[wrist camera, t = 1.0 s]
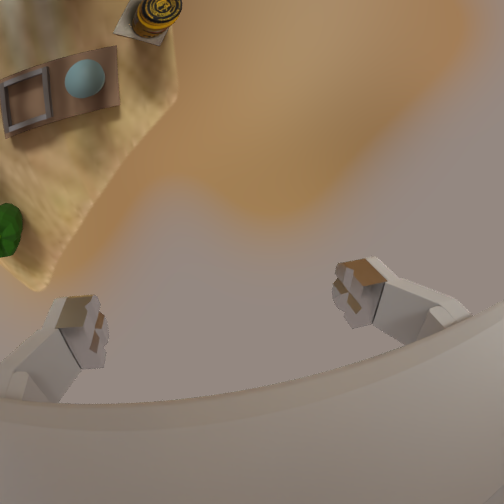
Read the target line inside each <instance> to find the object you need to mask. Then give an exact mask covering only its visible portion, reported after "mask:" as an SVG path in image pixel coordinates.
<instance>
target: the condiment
mask: <svg viewBox="0 0 504 504" xmlns="http://www.w3.org/2000/svg"><path fill="white" fill-rule="evenodd" d="M181 10H182V1H181V0H130V1H129V3H128V5H127V7H126V9H125V10H124V12H123V14H122V16H121V18H120V20H119V22H118V24H117V26H116V28H115V30H114V32H113V33H115V34H119V35H123V36H127V37H130V38H134V39H137V40H141V41H144V42H148V43H151V44H154V45H157V46H160V45H161V43H162V41H163V39H164V37H165V35H166V33H167V31H168V29H169V27H170V26H171V25H172V24H173V23H174V22H175V21H176V20H177V18H178V17H179V15H180V12H181ZM129 24H130V25H129ZM130 26H131V27H130Z"/></svg>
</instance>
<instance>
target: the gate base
mask: <svg viewBox="0 0 504 504" xmlns="http://www.w3.org/2000/svg"><path fill="white" fill-rule="evenodd" d="M0 105H1V113H2V121H3V127H4V133H5V139H7V138H9V137H12V136H14V135H17V134H19V133H22V132H25V131H28V130H30V129H33V128H36V127H39V126H42V125H45V124H48V123H51V122H55V121H58V120H61V119H65V118H68V117H72V116H75V115H79V114H83V113H87V112H91V111H95V110H99V109H104V108H108V107H113V106H117V105H120V98H119V85H118V69H117V45H116V46H111V47H106V48H101V49H96V50H91V51H87V52H83V53H79V54H75V55H71V56H67V57H63V58H60V59H56V60H53V61H50V62H47V63H44V64H40V65H37V66H35V67H32V68H29V69H26V70H23V71H21V72H18V73H15V74H13V75H10V76H8V77H6V78H3V79H1V80H0Z"/></svg>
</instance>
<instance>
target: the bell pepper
mask: <svg viewBox="0 0 504 504" xmlns="http://www.w3.org/2000/svg"><path fill="white" fill-rule="evenodd" d="M22 227H23V224H22V215H21V213H20V210H19V208H17V207H16V206H14V205H13V204H9V203H5V204H3V205H0V258H1V257H7V256H11V255H13V254H14V252H15V251H16V249H17V247H18V245H19V242H20V238H21V232H22Z"/></svg>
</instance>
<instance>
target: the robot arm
mask: <svg viewBox="0 0 504 504" xmlns="http://www.w3.org/2000/svg"><path fill="white" fill-rule="evenodd" d="M335 274H336V276H337V277H338V278H337V280H336V281H335V282H334V283H333V288H332V295H333V300H334V303H335V305H336V306H337V308H338V309H340V310H342V311H344V312H345V313H344V318H345V319H346V321H347V322H348V324H349V325H350V326H351V328H352V329H354V328H358V327H362V326H367V325H371V324H373V326H375V327H376V328H378V329H380V330H381V331H383V332H385V333H386V334H388V335H390V336H391V337H393V338H394V339H396V340H398V341H399V342H401V343H403V344H404V345H405V346H402V347H400V348H397V349H394V350H392V351H389V352H386V353H383V354H380V355H377V356H374V357H371V358H368V359H365V360H362V361H359V362H356V363H353V364H350V365H346V366H343V367H339V368H336V369H333V370H329V371H325V372H322V373H318V374H314V375H310V376H306V377H302V378H298V379H294V380H290V381H286V382H281V383H276V384H272V385H267V386H262V387H257V388H252V389H246V390H241V391H235V392H230V393H223V394H216V395H209V396H202V397H194V398H186V399H176V400H167V401H154V402H139V403H118V404H70V403H59V401H60V400H61V398H62V397H63V395H64V394H65V393H66V391H67V390H68V388H69V387H70V386H71V384H72V383H73V382H74V380H75V379H76V378H77V376H78V375H79V373H80V372H81V369H95V368H104V364H105V357H106V351H105V349H104V346H105V345H106V344H107V343H108V338H109V332H108V331H109V330H108V324H107V320H106V318H105V316H104V315H103V314H102V313H101V312H100V311H99V309H100V302H99V300H98V297H97V296H96V295H84V296H72V297H71V296H70V297H60V298H56V299H54V301H53V303H52V305H51V308H50V310H49V312H48V315H47V317H46V319H45V322H44V324H43V326H42V329H41V330H37V331H36V332H34V333H33V334H32V335H31V336H30V337H29V338H27V339H26V340H25V341H24V342H23V343H22V344H21V345H19V346H18V347H17V348H16V349H15V350H14V351H13V352H12V353H10V354H9V355H8V356H7V357H6V358H5V359H4V360H3V361H2V362H1V363H0V504H504V300H503V301H501V302H499V303H497V304H495V305H494V306H491V307H489V308H488V309H486V310H484V311H482V312H480V313H478V314H476V315H474V316H473V315H472V314H471V313H470V312H469V311H468V310H467V309H466V308H465V307H464V306H463V305H462V304H461V303H460V302H459V301H458V300H457V299H455V298H453V297H451V296H448V295H445V294H443V293H440V292H437V291H435V290H432V289H430V288H427V287H425V286H422V285H420V284H417V283H414V282H412V281H409V280H406V279H404V278H402V279H399V278H398V277H397V276H396V275H395V274H394V273H393V272H392V271H391V270H390V269H389V268H388V267H387V266H385V264H384V263H383V262H381V261H380V260H379V259H378V258H377V257H374V256H372V257H367V258H363V259H358V260H353V261H347V262H341V263H338V264H337V266H336V270H335Z"/></svg>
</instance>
